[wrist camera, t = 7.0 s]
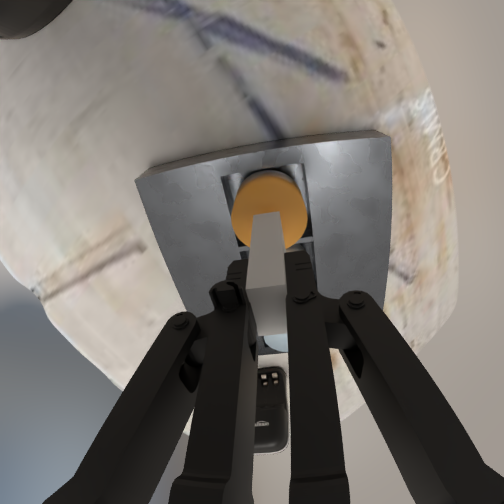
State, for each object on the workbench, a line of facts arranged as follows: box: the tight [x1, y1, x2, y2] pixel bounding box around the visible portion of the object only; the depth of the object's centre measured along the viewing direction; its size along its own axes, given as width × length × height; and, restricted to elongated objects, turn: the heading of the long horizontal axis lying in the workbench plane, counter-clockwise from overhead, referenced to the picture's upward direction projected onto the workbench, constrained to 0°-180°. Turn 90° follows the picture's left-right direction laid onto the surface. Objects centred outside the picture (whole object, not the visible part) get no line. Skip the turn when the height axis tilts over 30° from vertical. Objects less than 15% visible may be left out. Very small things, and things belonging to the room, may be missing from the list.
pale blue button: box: [264, 333, 288, 352], centre depth 26 cm, size 5×5×3 cm
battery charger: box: [254, 368, 290, 455], centre depth 30 cm, size 7×4×11 cm, turn 107°
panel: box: [135, 130, 392, 355], centre depth 24 cm, size 20×18×3 cm
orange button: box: [231, 170, 307, 249], centre depth 19 cm, size 5×5×3 cm
